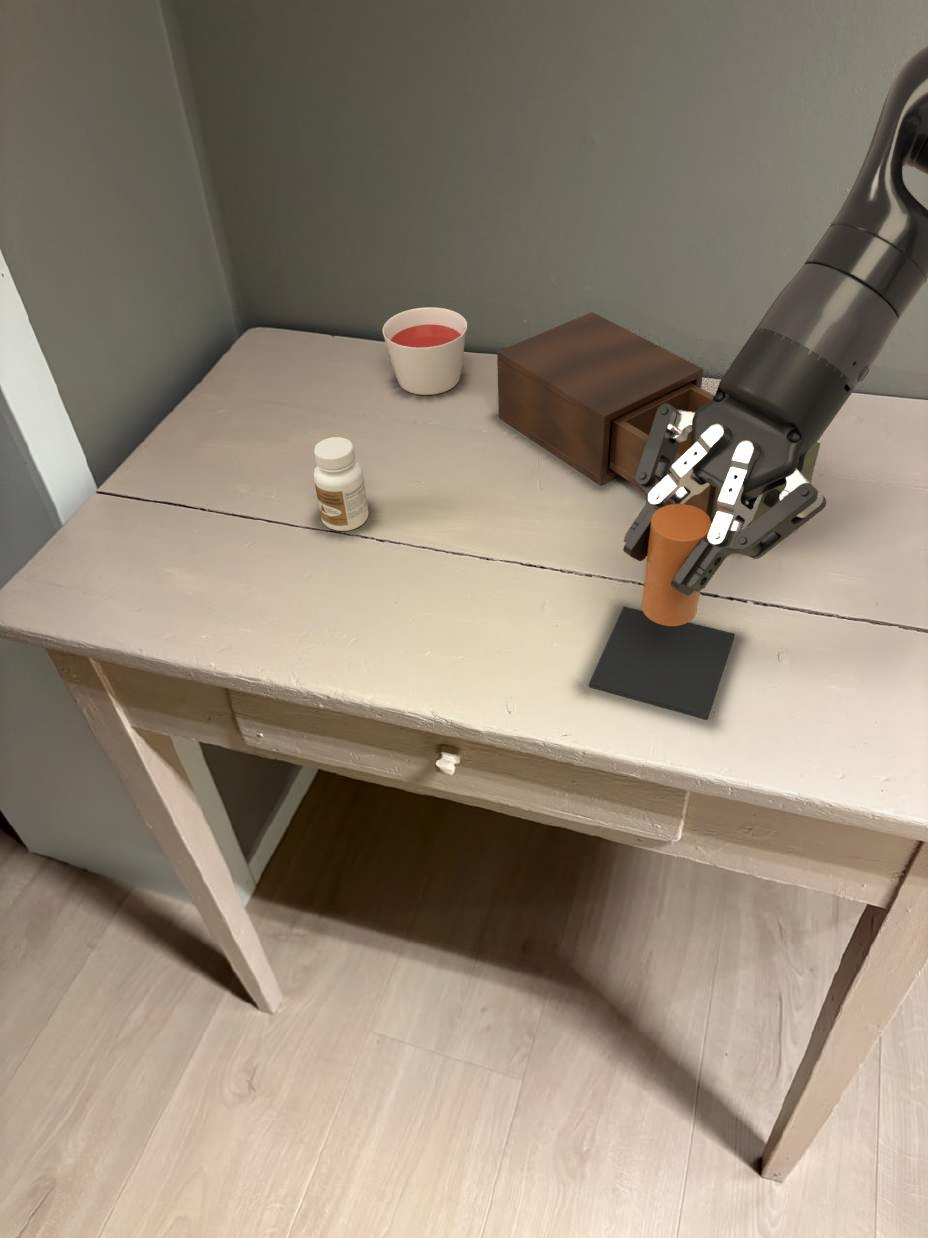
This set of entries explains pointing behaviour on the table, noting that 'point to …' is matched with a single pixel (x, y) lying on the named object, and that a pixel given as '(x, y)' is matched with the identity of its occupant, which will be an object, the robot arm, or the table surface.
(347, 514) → the pill bottle
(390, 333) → the candle
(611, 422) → the cabinet
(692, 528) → the spice tin
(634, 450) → the drawer
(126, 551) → the table surface
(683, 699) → the mat
